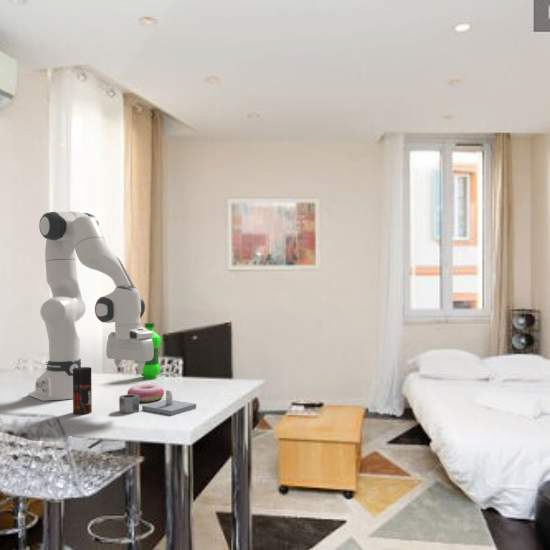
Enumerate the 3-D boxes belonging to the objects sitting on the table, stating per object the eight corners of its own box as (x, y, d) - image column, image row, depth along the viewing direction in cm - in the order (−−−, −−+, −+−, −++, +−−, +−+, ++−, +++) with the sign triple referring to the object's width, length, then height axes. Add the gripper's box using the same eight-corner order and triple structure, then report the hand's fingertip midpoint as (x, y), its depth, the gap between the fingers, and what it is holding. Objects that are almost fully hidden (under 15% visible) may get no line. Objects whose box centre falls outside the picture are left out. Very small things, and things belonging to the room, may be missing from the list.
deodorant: (75, 410, 189) (75, 367, 189) (93, 410, 190) (93, 366, 190) (71, 415, 183) (70, 370, 183) (89, 414, 184) (88, 369, 184)
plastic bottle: (159, 379, 246) (158, 323, 247) (135, 379, 247) (135, 324, 247) (163, 375, 256) (163, 322, 257) (141, 375, 257) (140, 322, 257)
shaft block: (142, 410, 189) (141, 391, 189) (167, 403, 199) (166, 385, 199) (171, 415, 181) (171, 395, 181) (196, 408, 191) (195, 389, 191)
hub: (115, 411, 187) (115, 397, 187) (130, 407, 192) (130, 393, 193) (128, 414, 184) (128, 399, 184) (142, 410, 189) (142, 395, 189)
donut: (145, 405, 197) (145, 391, 197) (119, 401, 204) (119, 387, 204) (171, 398, 208) (171, 385, 209) (145, 394, 216) (145, 381, 216)
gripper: (101, 332, 191) (102, 372, 191) (142, 334, 180) (143, 376, 180) (115, 330, 196) (116, 369, 196) (156, 332, 185) (157, 373, 185)
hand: (129, 372), depth 188 cm, fingers open, 8 cm apart
